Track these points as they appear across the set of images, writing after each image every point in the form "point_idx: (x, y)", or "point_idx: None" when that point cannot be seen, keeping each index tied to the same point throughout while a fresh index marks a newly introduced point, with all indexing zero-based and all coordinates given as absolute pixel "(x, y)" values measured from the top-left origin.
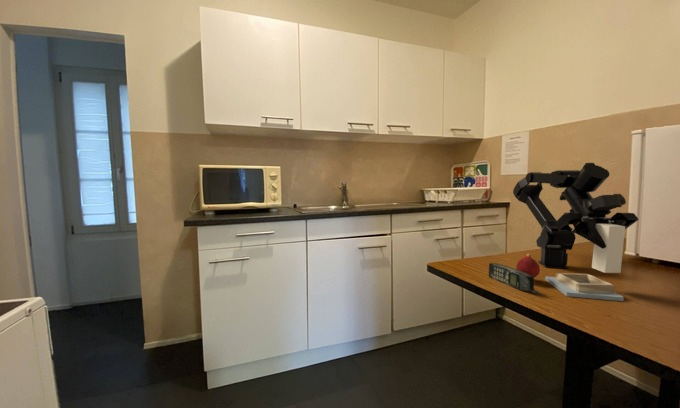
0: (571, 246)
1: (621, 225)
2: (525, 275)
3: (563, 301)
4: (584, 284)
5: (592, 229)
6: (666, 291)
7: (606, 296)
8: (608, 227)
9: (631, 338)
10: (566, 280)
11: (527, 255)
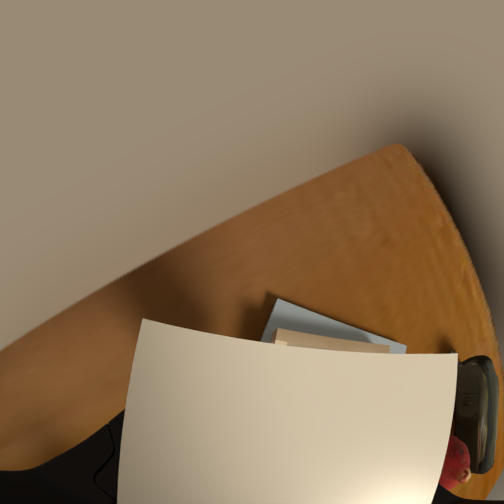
0: None
1: (3, 473)
2: (493, 366)
3: (424, 316)
4: (373, 345)
5: (436, 491)
6: (59, 329)
7: (320, 315)
8: (440, 374)
9: (403, 182)
10: None
11: (470, 471)
